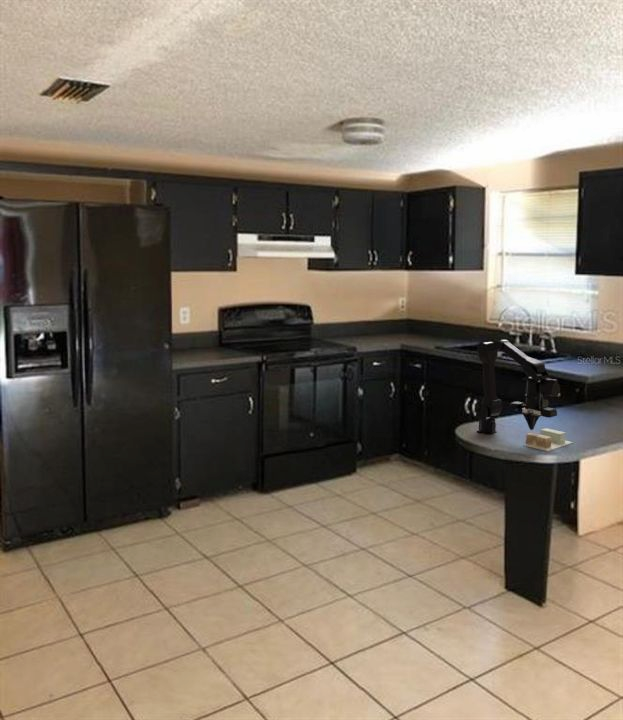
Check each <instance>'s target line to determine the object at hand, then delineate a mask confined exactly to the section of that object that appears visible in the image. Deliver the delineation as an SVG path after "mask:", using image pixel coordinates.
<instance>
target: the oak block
mask: <svg viewBox="0 0 623 720" xmlns="http://www.w3.org/2000/svg"><path fill="white" fill-rule="evenodd" d="M551 438H552V437H549V436H545V435H541V433H536V432H529V433H526V435H525V445H526V444H530V445H534V446H538V447H542V448H548V447H551Z"/></svg>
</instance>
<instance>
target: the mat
mask: <svg viewBox="0 0 623 720" xmlns="http://www.w3.org/2000/svg"><path fill="white" fill-rule="evenodd" d="M573 443H574V442H573V441H569V440H565V442H563V443H555V442H551V447H548V448H542V447H538V446H534V445H530V444H526V443H525V444H524V446H525V447H530V448H534V449H537V450H542V451H546V452H550V451H552V450H553V451H554V450H556V449H559V448H562V447H565V446H569V445H571V444H573Z"/></svg>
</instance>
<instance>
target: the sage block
mask: <svg viewBox="0 0 623 720" xmlns="http://www.w3.org/2000/svg"><path fill="white" fill-rule="evenodd" d="M566 433H567V432H564V431H560V430H556V429H552V428H547V427H546V428H545V427H544V428H542V429H540V435H545V436H549V437H552V438H551V442H555V443H563V442H565V441H566V435H567V434H566Z"/></svg>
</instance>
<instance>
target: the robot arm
mask: <svg viewBox="0 0 623 720" xmlns="http://www.w3.org/2000/svg"><path fill="white" fill-rule="evenodd" d="M500 351H501V352H503V353H504V354H505V355H507V357H509V358H510V359H512V360H513V361H514V362H516V363H517V364H518V365H519V366H520V368H521V370H522V372H524V373H525V374H526V376H525V377H524V376H523V378H522V381H526V394H524V399H525V402H521V401H517V400H516V401H513V402H510V404H509V408H508V409H509V411H518V410H522V411H521V413H520V414H521V415H523V417H524V419H525V421H526V424H527V426H528V429H529V430H530V431H533V430H534V429H535V427H536V424H537V422H538V420H539V418H540V417H542V418H544V417H545V418H550V419H551V418H553V417H557V416H558V410H557V409H556V408H552V407H548V406H549V402H550V401H549V400H548V399H545V398H544V396H549V397H554V398H555V397H558V396H559V394H560V392H561V386H560V383H559V382H558V379H555V378H554V379H553V378H551V376H550V375H549V372H548V371H547V368H546V365H545V363H544V362H542V361H541V360H538V359H537V358H533V357H531V356H528V355H527V354H525V353H524V351H522V350H520V349H518V348H517V347H516V346H515V345H513V344H512V343H511V342H510V341H509V340H507V339H501V340H498V341H494V342H493V341H488V342H481V343H480V344H478V345H477V353H478V355H477V356H478V358H479V360H480V361H481V363H482V374H483V392H484V394H483V395H484V397H483V398H482V401H481V406H480V407H481V408H480V410H478V411H477V412H476V413H475V416H476V419H477V420H478V429H476V431H479V432H478V433H480V432H481V433H480V434H485V435H491V434H492V435H493V434H495V433H497V430H496V429H497V422H496V419H498V418H499V415H500V413H502V409H504V408H503V405H502V402H503V400H502V399H499V397H498V395H497V385H496V369H495V368H496V367H495V363H496V360H497V358H498V352H500Z"/></svg>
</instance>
